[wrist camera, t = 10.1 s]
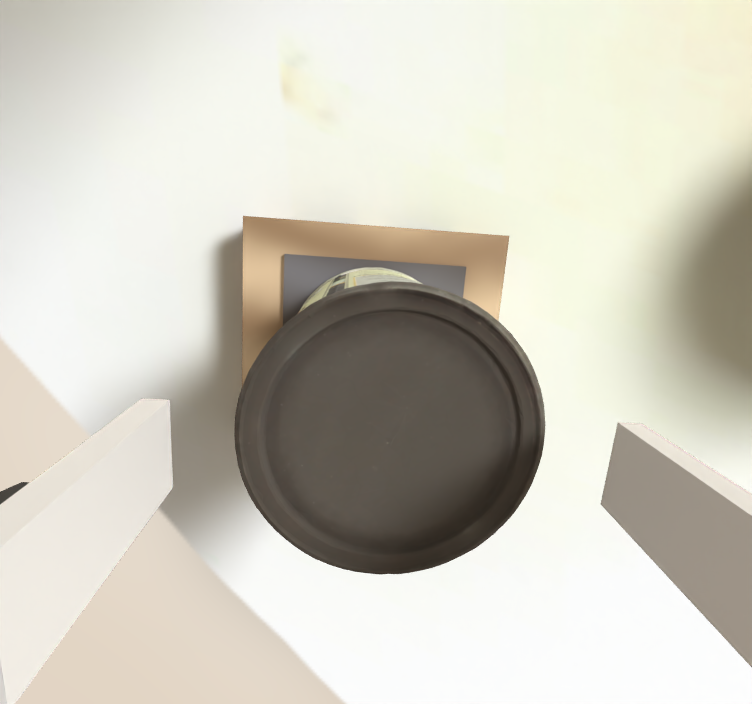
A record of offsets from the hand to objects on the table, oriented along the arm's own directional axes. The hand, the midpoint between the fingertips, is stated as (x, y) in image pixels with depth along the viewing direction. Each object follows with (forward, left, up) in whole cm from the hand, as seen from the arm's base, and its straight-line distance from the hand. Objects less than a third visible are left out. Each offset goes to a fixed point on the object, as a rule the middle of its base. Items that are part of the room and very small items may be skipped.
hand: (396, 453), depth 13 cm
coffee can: (0, 0, -16) cm, 16 cm away
